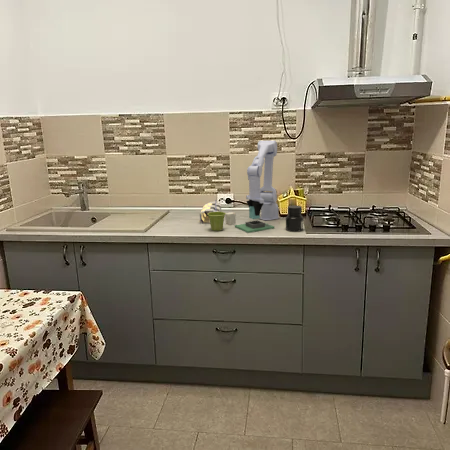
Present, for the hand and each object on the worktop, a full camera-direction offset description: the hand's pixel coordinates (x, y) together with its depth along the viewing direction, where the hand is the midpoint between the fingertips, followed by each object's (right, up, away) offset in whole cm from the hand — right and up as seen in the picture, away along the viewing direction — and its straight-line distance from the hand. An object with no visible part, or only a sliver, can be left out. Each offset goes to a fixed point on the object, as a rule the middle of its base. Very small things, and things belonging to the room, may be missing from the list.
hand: (255, 214), depth 223 cm
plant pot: (-20, -8, +2) cm, 21 cm away
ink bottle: (+20, -8, -3) cm, 22 cm away
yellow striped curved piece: (-24, -2, +27) cm, 36 cm away
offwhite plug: (-13, -5, +13) cm, 19 cm away
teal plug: (0, -2, 0) cm, 2 cm away
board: (0, -7, +3) cm, 7 cm away
